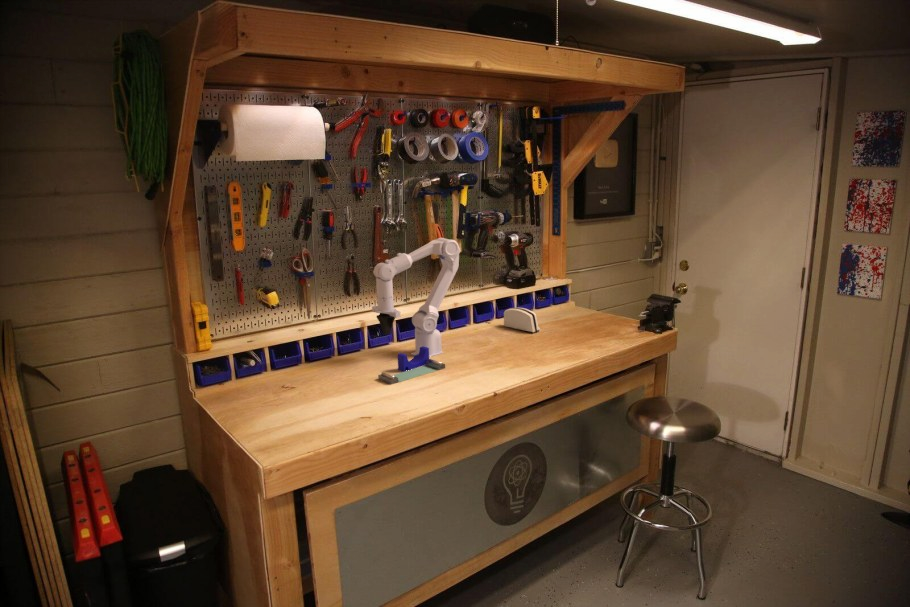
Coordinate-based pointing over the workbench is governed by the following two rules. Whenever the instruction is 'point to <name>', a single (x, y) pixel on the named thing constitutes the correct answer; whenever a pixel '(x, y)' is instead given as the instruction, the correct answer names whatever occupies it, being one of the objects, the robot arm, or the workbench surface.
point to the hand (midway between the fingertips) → (387, 334)
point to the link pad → (413, 373)
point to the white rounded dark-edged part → (521, 319)
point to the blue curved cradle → (413, 360)
